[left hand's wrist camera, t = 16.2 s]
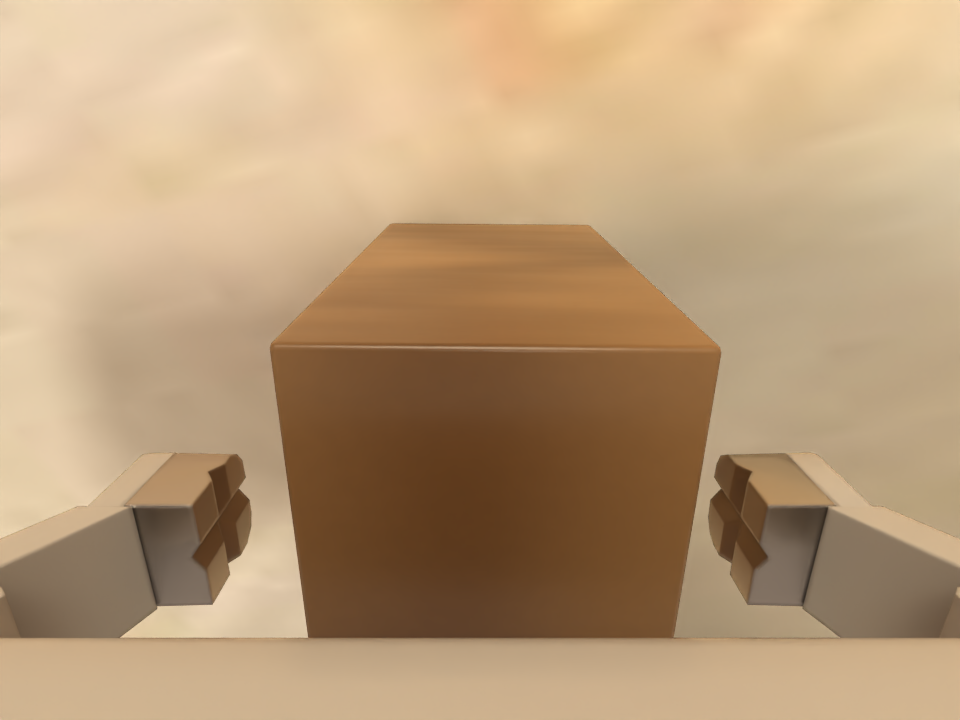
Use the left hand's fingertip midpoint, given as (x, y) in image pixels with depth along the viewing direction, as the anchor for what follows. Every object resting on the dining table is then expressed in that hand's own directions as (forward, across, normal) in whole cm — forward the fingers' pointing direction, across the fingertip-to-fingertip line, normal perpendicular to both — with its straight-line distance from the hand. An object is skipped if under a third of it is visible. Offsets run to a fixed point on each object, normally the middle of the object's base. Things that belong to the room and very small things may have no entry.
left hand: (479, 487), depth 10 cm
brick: (+6, 0, 0) cm, 6 cm away
